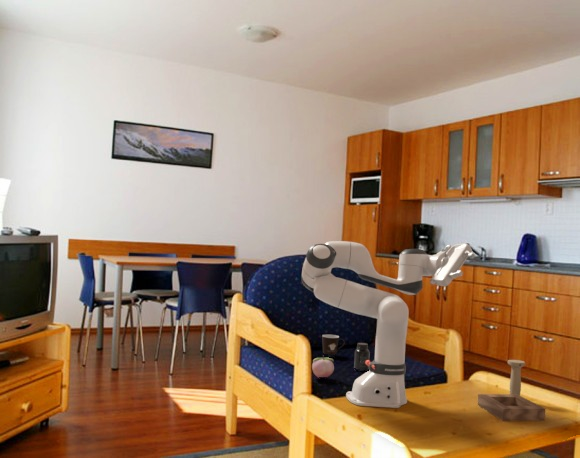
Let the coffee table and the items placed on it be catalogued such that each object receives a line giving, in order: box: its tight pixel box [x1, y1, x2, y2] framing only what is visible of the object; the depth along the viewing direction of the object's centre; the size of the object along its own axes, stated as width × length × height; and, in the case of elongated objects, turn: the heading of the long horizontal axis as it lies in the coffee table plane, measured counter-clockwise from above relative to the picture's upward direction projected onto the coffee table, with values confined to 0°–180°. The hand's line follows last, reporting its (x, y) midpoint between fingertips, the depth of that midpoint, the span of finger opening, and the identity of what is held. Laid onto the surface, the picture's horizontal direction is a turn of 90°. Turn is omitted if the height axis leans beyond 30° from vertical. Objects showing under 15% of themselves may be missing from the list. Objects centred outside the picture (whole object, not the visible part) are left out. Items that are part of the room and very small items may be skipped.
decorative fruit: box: [311, 354, 335, 378], centre depth 213 cm, size 9×8×10 cm
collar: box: [477, 393, 546, 422], centre depth 183 cm, size 16×16×4 cm
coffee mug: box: [321, 334, 346, 355], centre depth 256 cm, size 12×9×10 cm
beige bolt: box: [507, 359, 526, 396], centre depth 198 cm, size 5×6×15 cm
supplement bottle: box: [353, 342, 371, 370], centre depth 232 cm, size 7×7×12 cm
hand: (467, 264), depth 191 cm, fingers open, 8 cm apart
